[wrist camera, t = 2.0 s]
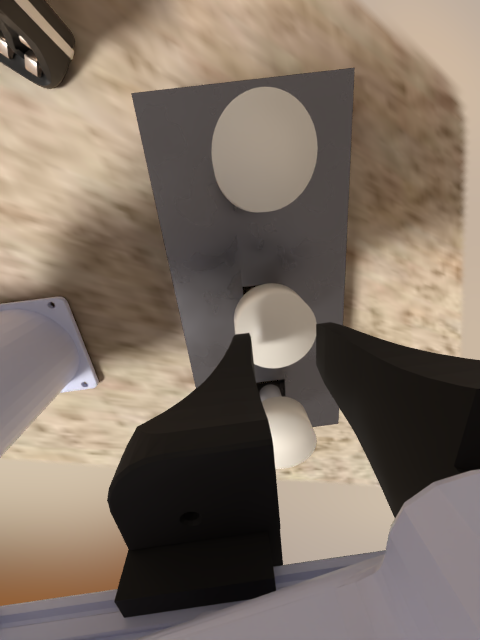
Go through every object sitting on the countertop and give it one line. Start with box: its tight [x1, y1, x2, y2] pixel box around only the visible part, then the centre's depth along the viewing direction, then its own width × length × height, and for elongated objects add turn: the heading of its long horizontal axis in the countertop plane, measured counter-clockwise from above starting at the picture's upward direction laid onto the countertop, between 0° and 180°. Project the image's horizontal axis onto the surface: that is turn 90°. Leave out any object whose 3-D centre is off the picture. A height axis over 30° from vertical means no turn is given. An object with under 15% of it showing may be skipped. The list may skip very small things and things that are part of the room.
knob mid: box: [234, 283, 317, 368], centre depth 15 cm, size 4×4×5 cm
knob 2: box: [260, 384, 317, 469], centre depth 18 cm, size 4×4×5 cm
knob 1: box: [211, 87, 318, 213], centre depth 12 cm, size 4×4×5 cm
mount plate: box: [131, 68, 354, 427], centre depth 18 cm, size 11×23×3 cm, turn 7°
